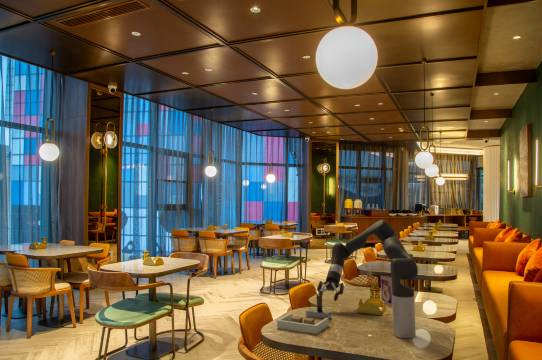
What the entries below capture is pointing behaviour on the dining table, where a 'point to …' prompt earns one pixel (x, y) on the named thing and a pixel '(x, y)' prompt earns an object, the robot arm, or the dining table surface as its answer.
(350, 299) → the dining table surface
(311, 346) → the dining table surface
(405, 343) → the dining table surface
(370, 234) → the robot arm
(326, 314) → the scraper
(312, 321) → the walnut block
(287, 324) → the tray
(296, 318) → the walnut block
